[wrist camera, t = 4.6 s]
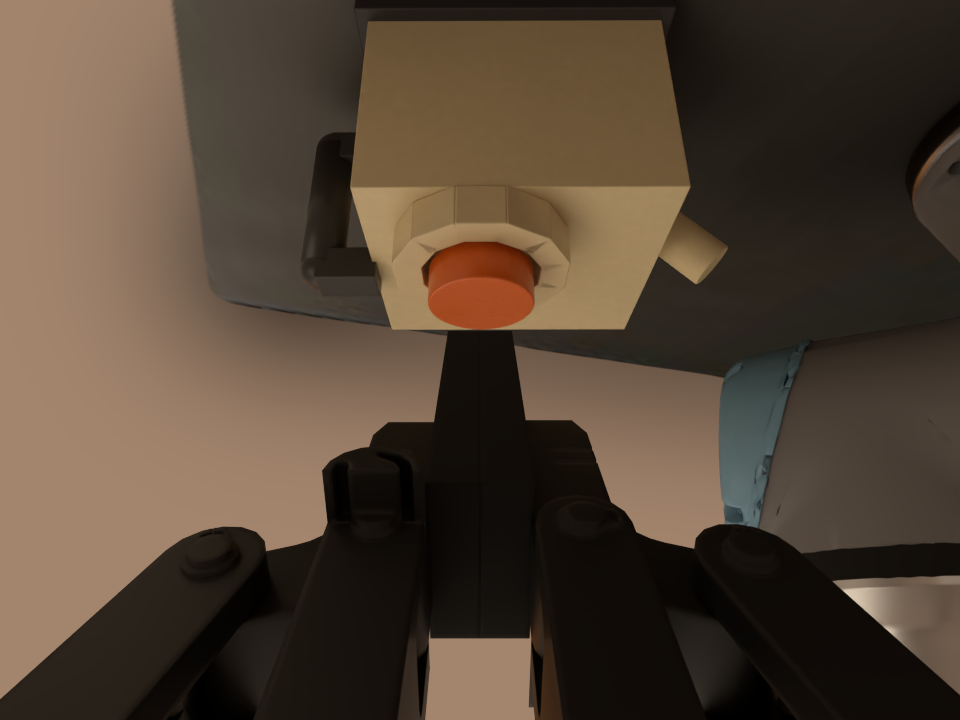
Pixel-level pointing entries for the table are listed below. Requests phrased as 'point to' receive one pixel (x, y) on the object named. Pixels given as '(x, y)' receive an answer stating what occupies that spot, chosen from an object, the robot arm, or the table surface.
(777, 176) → the table surface
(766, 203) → the table surface
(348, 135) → the kettle handle and spout
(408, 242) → the kettle
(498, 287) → the button
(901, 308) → the table surface
